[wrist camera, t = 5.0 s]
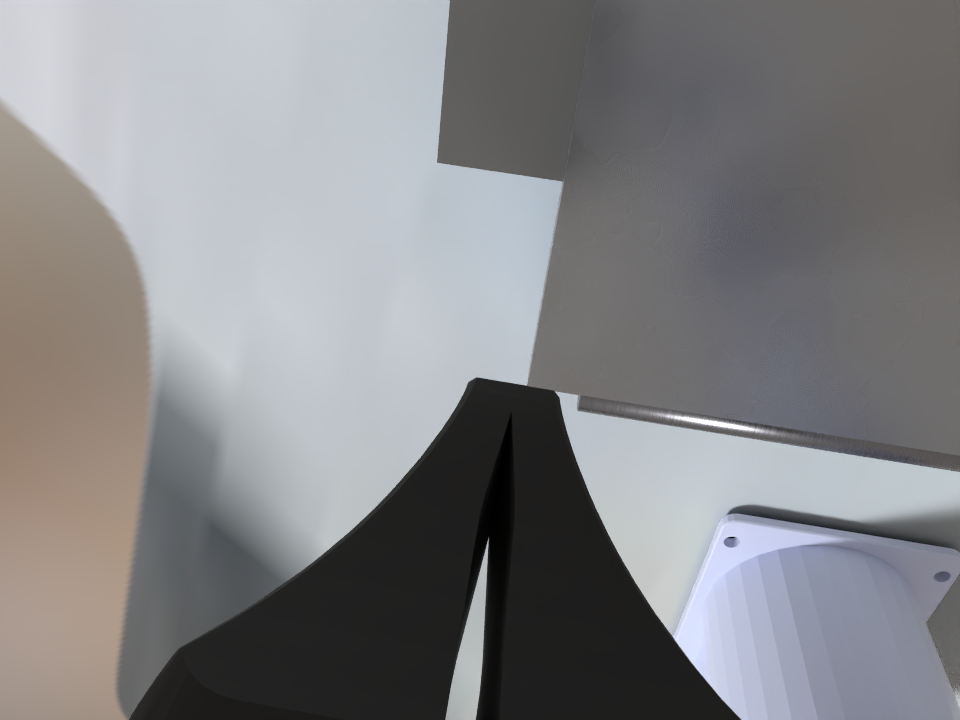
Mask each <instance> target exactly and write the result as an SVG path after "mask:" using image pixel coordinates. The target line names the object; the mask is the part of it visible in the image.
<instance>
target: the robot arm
mask: <svg viewBox="0 0 960 720" xmlns="http://www.w3.org/2000/svg"><path fill="white" fill-rule="evenodd" d="M728 537H735V538H732V539H727V538H728ZM488 538H489V546H488V565H487V585H486V605H485V626H484V646H483V664H482V675H481V686H480V695H479V702H478V709H477V716H476V720H960V707H959V705H958V702H957V700H956V697H955V695H954V692H953V690H952V687H951V685H950V682H949V680H948V677H947V675H946V672H945V670H944V667H943V665H942V662H941V660H940V657H939V655H938V652H937V650H936V647H935V645H934V642H933V640H932V637H931V635H930V632H929V630H928V627H927V625H926V622H927V620H928V619H929V618H930V616H931V615H932V613H933V612H934V610H935V609H936V607H937V606H938V605H939V603H940V602H941V600H942V599H943V597H944V596H945V594H946V593H947V591H948V590H949V589H950V587H951V586H952V584H953V583H954V581H955V580H956V578H957V577H958V575H959V574H960V552H958V551H957V550H955V549H952V548H945V547H939V546H933V545H927V544H921V543H915V542H909V541H903V540H897V539H890V538H884V537H878V536H872V535H866V534H860V533H854V532H848V531H841V530H835V529H829V528H823V527H817V526H811V525H805V524H799V523H792V522H786V521H780V520H774V519H768V518H762V517H756V516H750V515H744V514H729V515H726V516H725V517H723V518H722V519H721V521H720V522H719V525H718V527H717V530H716V532H715V535H714V537H713V540H712V542H711V545H710V547H709V550H708V552H707V555H706V557H705V560H704V562H703V565H702V567H701V570H700V572H699V574H698V577H697V579H696V582H695V584H694V587H693V589H692V592H691V594H690V597H689V599H688V602H687V604H686V607H685V609H684V612H683V614H682V617H681V619H680V622H679V624H678V627H677V629H676V632H675V634H674V637H672V635H671V634H670V633H669V631H668V630H667V629H666V627H665V626H664V625H663V623H662V622H661V621H660V619H659V618H658V617H657V615H656V614H655V612H654V611H653V609H652V608H651V606H650V605H649V603H648V602H647V600H646V598H645V597H644V595H643V594H642V592H641V591H640V589H639V588H638V586H637V584H636V583H635V581H634V580H633V578H632V576H631V574H630V573H629V571H628V569H627V568H626V566H625V564H624V563H623V561H622V559H621V557H620V556H619V554H618V552H617V550H616V548H615V546H614V544H613V543H612V541H611V539H610V537H609V535H608V533H607V531H606V529H605V527H604V525H603V523H602V520H601V518H600V516H599V514H598V512H597V510H596V508H595V506H594V503H593V501H592V499H591V496H590V494H589V492H588V489H587V487H586V484H585V482H584V479H583V477H582V474H581V472H580V469H579V467H578V464H577V461H576V458H575V456H574V453H573V450H572V447H571V444H570V440H569V437H568V434H567V431H566V427H565V423H564V419H563V415H562V410H561V405H560V398H559V397H558V395H557V394H556V393H555V391H554V390H548V389H542V388H536V387H530V386H524V385H519V384H513V383H507V382H501V381H495V380H489V379H483V378H475V379H473V380H471V381H470V382H468V385H467V387H466V390H465V392H464V394H463V396H462V398H461V400H460V402H459V403H458V405H457V407H456V408H455V410H454V412H453V413H452V415H451V416H450V418H449V419H448V421H447V422H446V424H445V425H444V427H443V428H442V430H441V431H440V432H439V434H438V435H437V436H436V438H435V439H434V440H433V442H432V443H431V444H430V446H429V447H428V448H427V450H426V451H425V453H424V454H423V455H422V456H421V458H420V459H419V460H418V461H417V463H416V464H415V465H414V466H413V467H412V468H411V469H410V471H409V472H408V473H407V474H406V475H405V476H404V477H403V479H402V480H401V481H400V482H399V483H398V484H397V485H396V487H395V488H394V489H393V490H392V491H391V492H390V493H389V494H388V495H387V496H386V497H385V498H384V499H383V500H382V501H381V502H380V504H379V505H378V506H377V507H376V508H375V509H374V510H372V511H371V512H370V513H369V514H368V515H367V516H366V517H365V518H364V519H363V520H362V521H361V522H360V523H359V524H358V525H357V526H356V527H355V528H353V529H352V530H351V531H350V532H349V533H348V534H347V535H345V536H344V537H343V538H342V539H341V540H340V541H338V542H337V543H336V544H335V545H334V546H332V547H331V548H330V549H329V550H328V551H326V552H325V553H324V554H323V555H322V556H320V557H319V558H318V559H317V560H315V561H314V562H313V563H312V564H310V565H309V566H308V567H306V568H305V569H304V570H302V571H301V572H300V573H298V574H297V575H295V576H294V577H292V578H291V579H290V580H288V581H287V582H285V583H284V584H282V585H281V586H280V587H278V588H277V589H275V590H274V591H272V592H271V593H270V594H268V595H267V596H265V597H264V598H262V599H261V600H259V601H258V602H257V603H255V604H254V605H252V606H250V607H249V608H247V609H246V610H244V611H243V612H241V613H239V614H238V615H236V616H234V617H232V618H231V619H229V620H227V621H225V622H224V623H222V624H220V625H219V626H217V627H215V628H213V629H212V630H210V631H208V632H207V633H205V634H203V635H201V636H200V637H198V638H196V639H194V640H193V641H191V642H189V643H187V644H186V645H184V646H182V647H180V648H179V649H178V650H177V651H176V652H175V654H174V655H173V656H172V657H171V659H170V660H169V661H168V663H167V664H166V665H165V667H164V668H163V669H162V671H161V672H160V673H159V675H158V676H157V678H156V679H155V680H154V682H153V683H152V685H151V686H150V688H149V689H148V691H147V692H146V694H145V695H144V697H143V698H142V700H141V701H140V703H139V704H138V706H137V707H136V709H135V711H134V712H133V714H132V715H131V717H130V719H129V720H445V718H446V712H447V706H448V700H449V694H450V688H451V683H452V678H453V674H454V669H455V664H456V660H457V656H458V652H459V648H460V644H461V640H462V637H463V633H464V629H465V625H466V621H467V618H468V614H469V610H470V606H471V602H472V599H473V595H474V591H475V587H476V583H477V580H478V576H479V572H480V568H481V564H482V561H483V557H484V553H485V549H486V545H487V541H488ZM941 571H942V572H941ZM938 572H939V573H938Z"/></svg>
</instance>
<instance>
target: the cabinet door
mask: <svg viewBox="0 0 960 720" xmlns="http://www.w3.org/2000/svg"><path fill="white" fill-rule="evenodd" d="M527 386H530V387H536V388H542V389H548V390H554V391H557V392H563V393H569V394H576V395H578V401H577V411H582V412H588V413H594V414H601V415H607V416H613V417H619V418H626V419H632V420H638V421H644V422H651V423H657V424H663V425H669V426H676V427H682V428H688V429H694V430H701V431H707V432H713V433H719V434H726V435H732V436H738V437H744V438H751V439H757V440H763V441H769V442H776V443H782V444H788V445H795V446H801V447H807V448H813V449H820V450H826V451H832V452H838V453H845V454H851V455H857V456H863V457H870V458H876V459H882V460H888V461H895V462H901V463H907V464H913V465H920V466H926V467H932V468H938V469H945V470H951V471H957V472H960V0H595V3H594V8H593V14H592V19H591V25H590V31H589V36H588V42H587V47H586V53H585V59H584V64H583V70H582V76H581V81H580V87H579V92H578V98H577V104H576V109H575V115H574V120H573V126H572V132H571V137H570V143H569V148H568V154H567V160H566V165H565V171H564V177H563V182H562V188H561V193H560V199H559V205H558V210H557V216H556V221H555V227H554V233H553V238H552V244H551V249H550V255H549V261H548V266H547V272H546V278H545V283H544V289H543V294H542V300H541V306H540V311H539V317H538V322H537V328H536V334H535V339H534V345H533V350H532V356H531V362H530V368H529V376H528V384H527Z"/></svg>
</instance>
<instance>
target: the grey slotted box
mask: <svg viewBox="0 0 960 720" xmlns="http://www.w3.org/2000/svg"><path fill="white" fill-rule="evenodd" d="M594 3H595V0H450V9H449V21H448V34H447V46H446V59H445V71H444V84H443V96H442V109H441V121H440V134H439V147H438V159H437V163H443V164H450V165H457V166H463V167H470V168H477V169H483V170H490V171H497V172H504V173H510V174H517V175H524V176H530V177H537V178H544V179H550V180H557V181H563V177H564V171H565V165H566V160H567V154H568V148H569V143H570V137H571V132H572V126H573V120H574V115H575V109H576V104H577V98H578V92H579V87H580V81H581V76H582V70H583V64H584V59H585V53H586V47H587V42H588V36H589V31H590V25H591V19H592V14H593V8H594Z"/></svg>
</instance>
